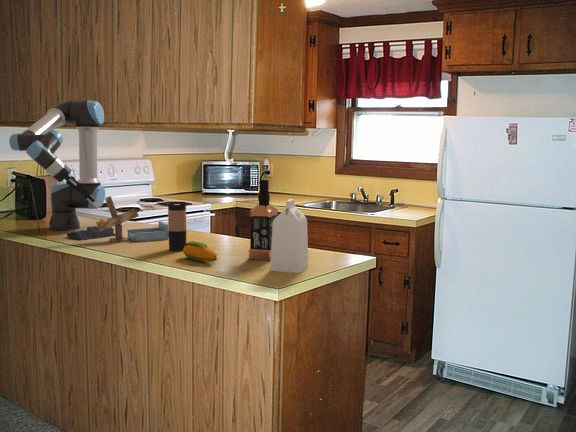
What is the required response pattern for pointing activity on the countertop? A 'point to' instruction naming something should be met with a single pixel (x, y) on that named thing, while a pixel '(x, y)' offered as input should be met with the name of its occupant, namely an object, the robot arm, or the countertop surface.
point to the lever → (116, 216)
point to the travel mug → (177, 226)
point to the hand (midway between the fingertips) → (98, 205)
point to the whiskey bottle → (262, 225)
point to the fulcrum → (118, 235)
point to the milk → (289, 240)
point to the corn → (199, 251)
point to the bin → (149, 233)
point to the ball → (102, 221)
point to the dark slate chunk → (91, 233)
